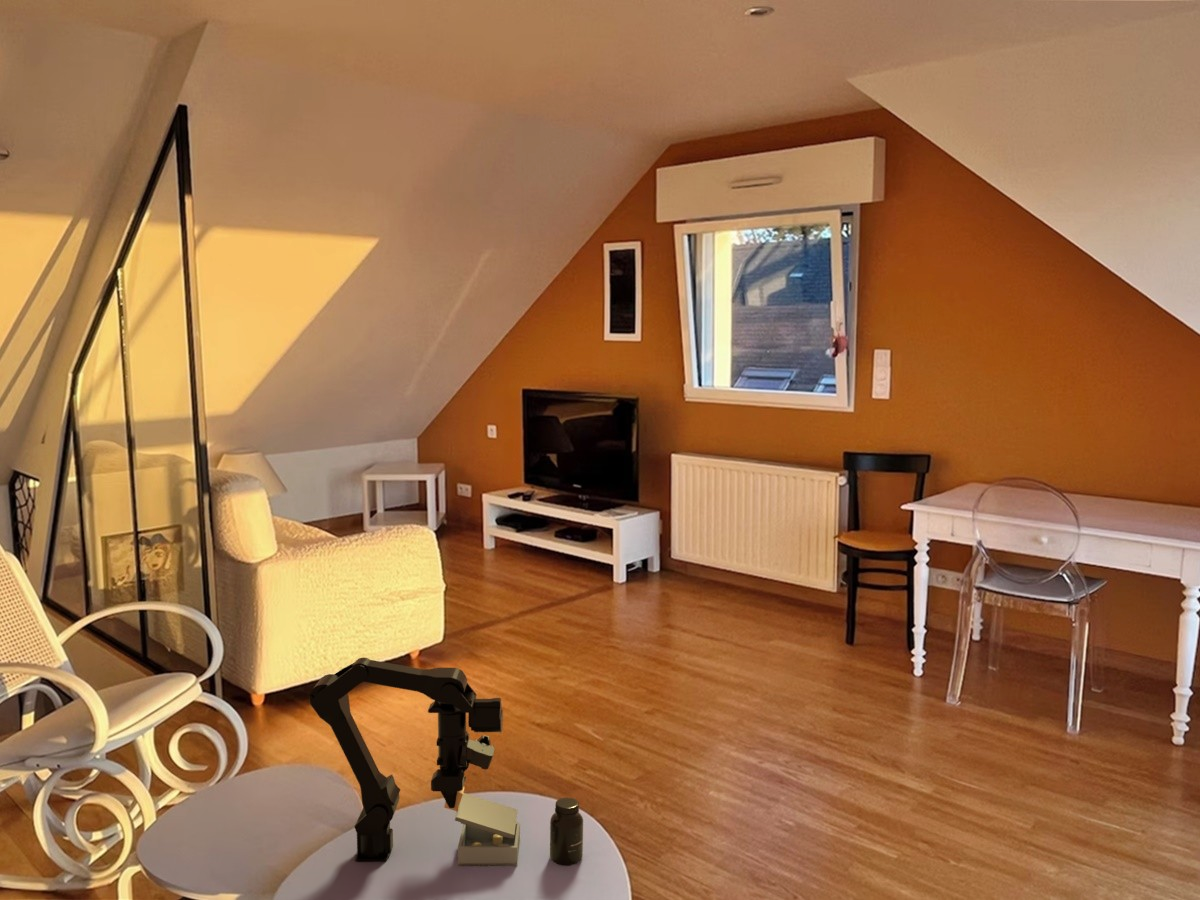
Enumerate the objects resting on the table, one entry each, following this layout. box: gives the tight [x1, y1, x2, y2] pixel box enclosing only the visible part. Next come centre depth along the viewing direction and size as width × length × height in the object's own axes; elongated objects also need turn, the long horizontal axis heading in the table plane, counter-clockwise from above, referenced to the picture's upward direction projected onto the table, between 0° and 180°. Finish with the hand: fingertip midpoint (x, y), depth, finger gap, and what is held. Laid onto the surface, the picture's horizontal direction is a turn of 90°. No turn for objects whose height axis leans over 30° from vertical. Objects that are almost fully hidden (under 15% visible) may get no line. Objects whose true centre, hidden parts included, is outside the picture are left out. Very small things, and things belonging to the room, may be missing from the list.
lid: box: [443, 786, 518, 838], centre depth 196 cm, size 15×10×5 cm
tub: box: [457, 822, 521, 867], centre depth 197 cm, size 12×10×4 cm
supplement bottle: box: [549, 797, 584, 867], centre depth 195 cm, size 7×7×12 cm
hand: (453, 803), depth 195 cm, fingers closed on lid, 3 cm apart
